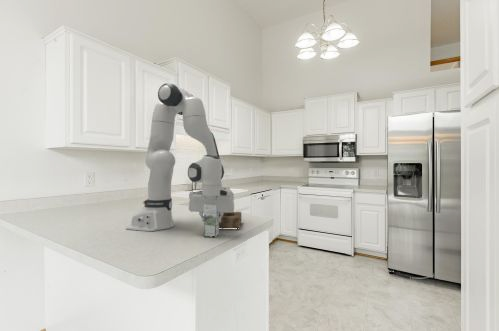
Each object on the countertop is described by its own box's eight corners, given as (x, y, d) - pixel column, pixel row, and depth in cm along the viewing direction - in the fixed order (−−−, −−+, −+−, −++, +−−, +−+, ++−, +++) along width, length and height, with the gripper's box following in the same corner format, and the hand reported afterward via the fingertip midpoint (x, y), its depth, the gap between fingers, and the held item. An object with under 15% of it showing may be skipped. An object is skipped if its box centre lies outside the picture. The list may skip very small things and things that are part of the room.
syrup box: (219, 233, 109) (219, 202, 109) (216, 237, 103) (216, 204, 103) (207, 233, 110) (207, 202, 110) (203, 237, 104) (203, 204, 104)
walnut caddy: (210, 229, 117) (210, 217, 117) (216, 222, 131) (216, 211, 131) (238, 229, 116) (238, 217, 116) (241, 222, 130) (241, 212, 130)
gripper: (186, 191, 104) (186, 222, 104) (233, 192, 103) (232, 224, 103) (191, 189, 110) (191, 219, 110) (235, 190, 109) (234, 220, 109)
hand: (211, 221), depth 107 cm, fingers closed on syrup box, 6 cm apart
